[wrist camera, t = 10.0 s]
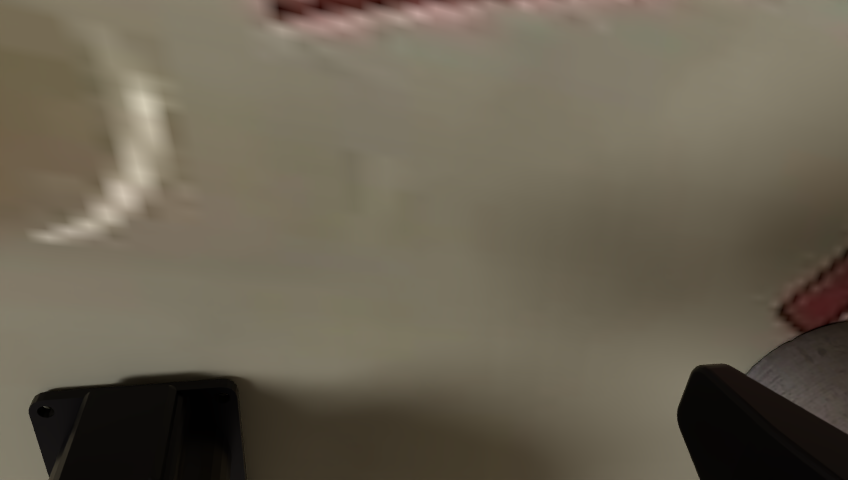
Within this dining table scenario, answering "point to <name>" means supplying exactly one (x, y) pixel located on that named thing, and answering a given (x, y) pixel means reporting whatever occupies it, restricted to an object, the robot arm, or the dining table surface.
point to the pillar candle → (811, 373)
